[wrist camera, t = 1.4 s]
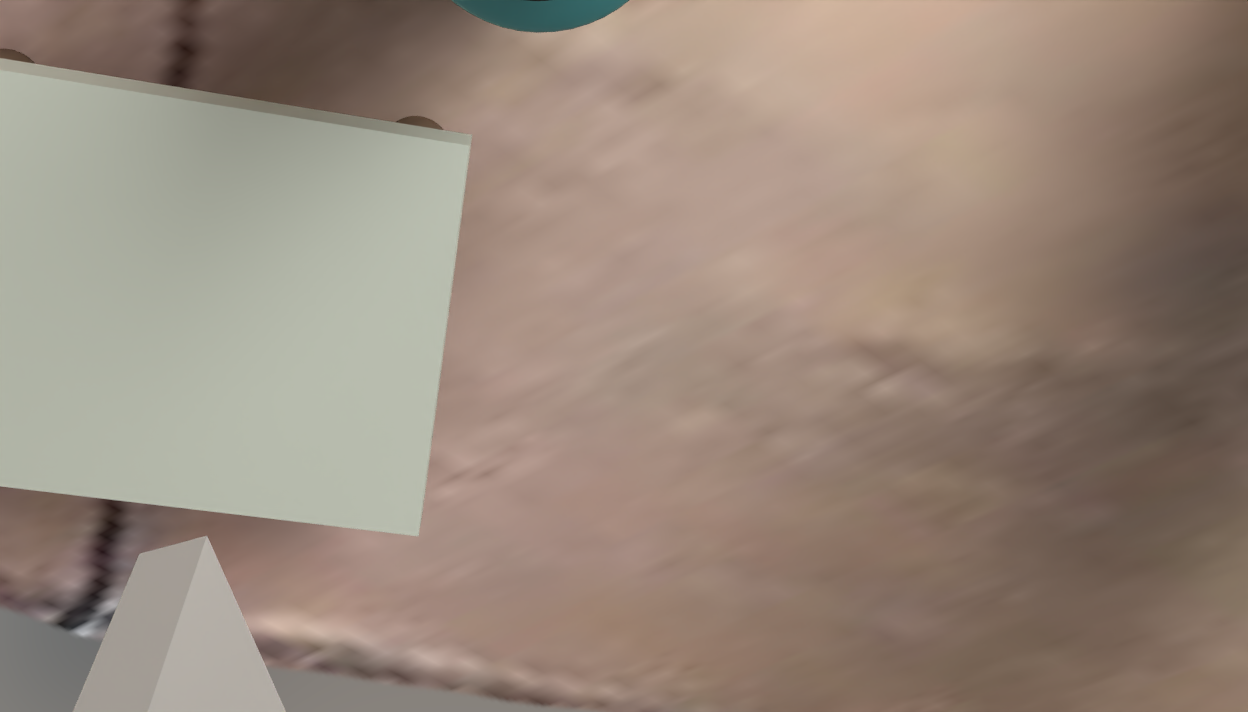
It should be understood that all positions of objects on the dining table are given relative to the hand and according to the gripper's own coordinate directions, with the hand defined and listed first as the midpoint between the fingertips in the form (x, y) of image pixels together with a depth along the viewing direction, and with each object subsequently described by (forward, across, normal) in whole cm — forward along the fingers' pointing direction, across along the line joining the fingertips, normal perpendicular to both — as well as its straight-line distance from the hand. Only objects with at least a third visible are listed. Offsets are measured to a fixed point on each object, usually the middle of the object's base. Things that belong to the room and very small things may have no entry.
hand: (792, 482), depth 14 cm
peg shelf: (+32, +14, +4) cm, 35 cm away
